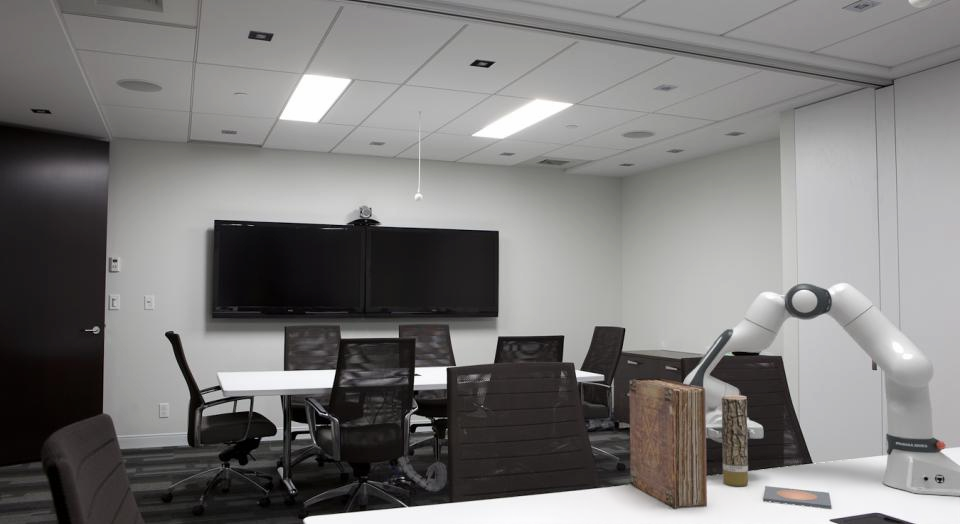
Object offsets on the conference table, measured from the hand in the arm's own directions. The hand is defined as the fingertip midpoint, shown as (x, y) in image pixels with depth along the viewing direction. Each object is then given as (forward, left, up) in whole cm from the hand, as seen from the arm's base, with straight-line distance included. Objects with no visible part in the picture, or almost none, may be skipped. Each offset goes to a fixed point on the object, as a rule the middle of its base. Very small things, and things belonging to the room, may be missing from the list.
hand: (735, 435), depth 201 cm
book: (+16, +20, -14) cm, 30 cm away
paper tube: (0, -1, -14) cm, 14 cm away
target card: (-16, +8, -14) cm, 23 cm away
